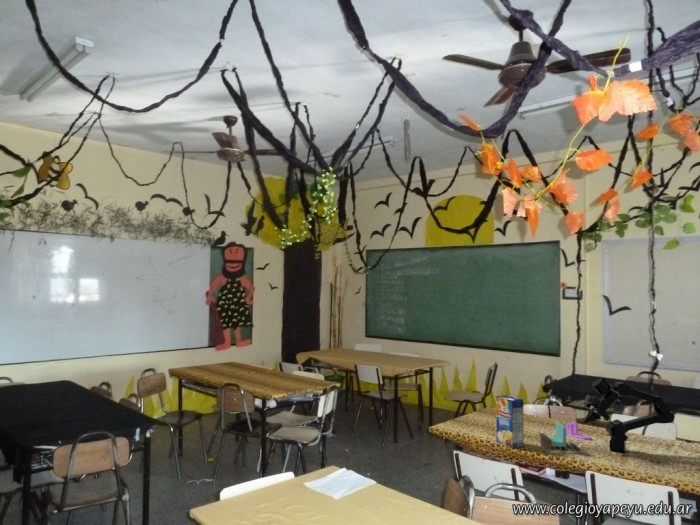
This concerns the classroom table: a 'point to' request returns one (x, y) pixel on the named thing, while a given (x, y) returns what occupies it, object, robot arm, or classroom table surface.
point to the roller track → (547, 446)
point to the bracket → (575, 431)
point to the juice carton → (509, 421)
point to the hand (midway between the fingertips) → (584, 422)
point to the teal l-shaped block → (559, 436)
